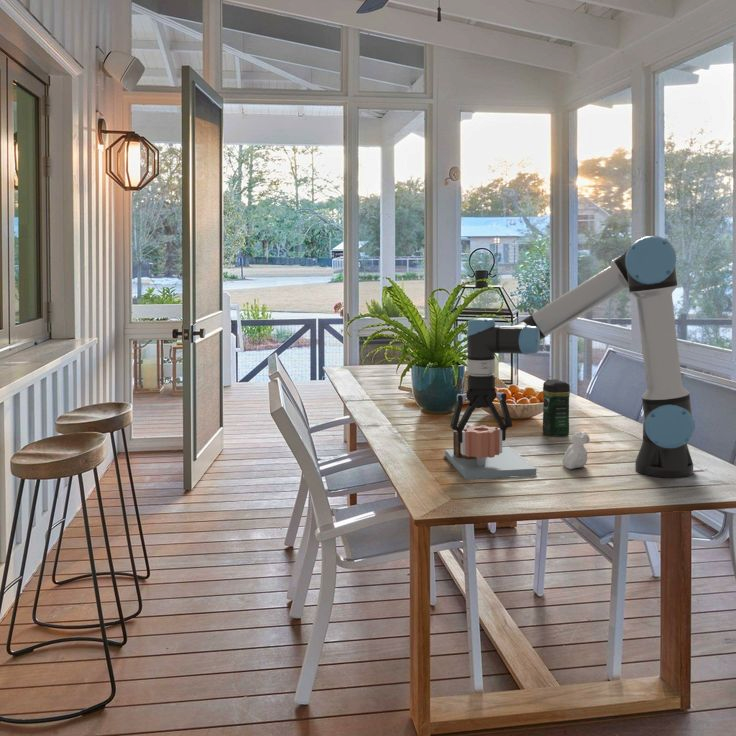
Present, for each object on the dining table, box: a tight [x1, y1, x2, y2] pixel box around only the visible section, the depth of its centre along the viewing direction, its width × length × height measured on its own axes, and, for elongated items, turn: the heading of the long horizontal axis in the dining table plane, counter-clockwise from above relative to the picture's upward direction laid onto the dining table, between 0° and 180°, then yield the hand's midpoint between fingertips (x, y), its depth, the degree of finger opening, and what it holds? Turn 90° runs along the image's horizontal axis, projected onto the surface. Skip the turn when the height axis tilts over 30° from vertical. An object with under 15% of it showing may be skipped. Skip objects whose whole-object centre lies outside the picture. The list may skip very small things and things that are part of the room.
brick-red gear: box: [463, 424, 500, 458], centre depth 221 cm, size 10×10×7 cm
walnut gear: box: [452, 430, 476, 459], centre depth 234 cm, size 10×10×7 cm
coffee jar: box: [542, 378, 571, 437], centre depth 267 cm, size 10×8×19 cm
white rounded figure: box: [561, 430, 591, 470], centre depth 226 cm, size 12×8×11 cm
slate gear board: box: [444, 424, 537, 480], centre depth 229 cm, size 26×20×11 cm
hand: (481, 453), depth 222 cm, fingers closed on brick-red gear, 10 cm apart
